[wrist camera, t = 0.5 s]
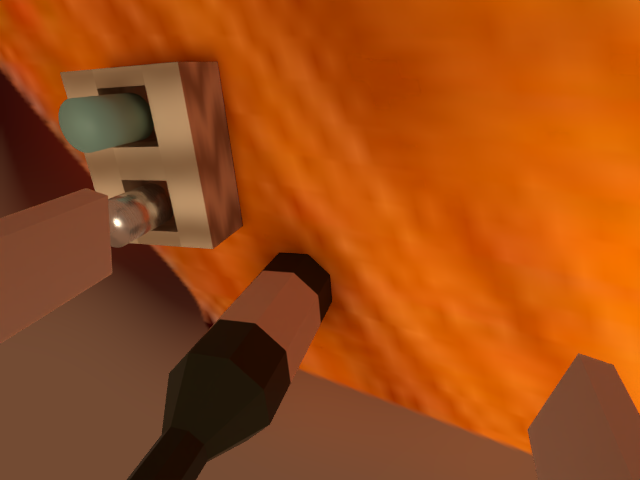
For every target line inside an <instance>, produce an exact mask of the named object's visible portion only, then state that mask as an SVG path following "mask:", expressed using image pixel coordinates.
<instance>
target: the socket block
mask: <svg viewBox="0 0 640 480" xmlns="http://www.w3.org/2000/svg"><path fill="white" fill-rule="evenodd" d="M60 74H61V77H62V80H63V84H64V87H65V91H66V94H67V97H68V99H70V98H78V97H88V96H99V95H109V94H120V93H135V94H137V95H139V96H141V97H142V98H143V99H144V100H145V101H146V102H147V103H148V100H149V103H148V104H149V105H150V109H151V114H152V118H153V123H154V127H155V130H154V128H153V131H152V133H151V135H150V136H149V137H148V138H146V139H143V140H139V141H135V142H131V143H127V144H123V145H119V146H115V147H111V148H107V149H104V150H100V151H96V152H92V153H85V152H84V154H85V158H86V161H87V164H88V168H89V171H90V174H91V178H92V181H93V184H94V188H95V191H96V192H99V193H102V194H105V195H108V199H110V198H112V197H115V196H117V195H120V194H122V193H125V192H127V191H130V190H132V189H135V188H137V187H140V186H142V185H145V184H148V183H153V184H157V185H159V186H161V187H162V188H163V189H165V190H166V192H167V193H168V194H170V199H171V203H172V208H173V215H172V217H171V219H170V220H169V221H167V222H165V223H164V224H162V225H160V226H158V227H157V228H155V229H153V230H151V231H149V232H148V233H146V234H144V235H142V236H140V237H139V238H137V239H135V240H133V241H132V242H130V243H138V244H151V245H166V246H180V247H194V248H208V249H214V248H215V247H216V246H217V245H219V244H220V243H221V242H222V241H224V240H225V239H226V238H228V237H229V236H230V235H231V234H233V233H234V232H235V231H237V230H238V229H239V228H240V227H242V226H243V225H242V218H241V212H240V205H239V199H238V192H237V186H236V179H235V173H234V166H233V160H232V153H231V147H230V140H229V134H228V127H227V121H226V114H225V108H224V101H223V95H222V88H221V82H220V75H219V69H218V62H170V63H159V64H148V65H137V66H126V67H115V68H104V69H93V70H82V71H71V72H60ZM145 87H146V90H145ZM146 91H147V94H146ZM147 96H148V99H147ZM155 132H156V134H155ZM156 136H157V137H156ZM166 181H167V183H166ZM167 185H168V188H167ZM168 190H169V192H168Z"/></svg>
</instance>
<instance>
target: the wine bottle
mask: <svg viewBox="0 0 640 480" xmlns="http://www.w3.org/2000/svg"><path fill="white" fill-rule="evenodd" d="M331 302H332V295H331V282H330V275H329V274H328V273H327V272H326V271H325V270H324V269H323V268H322V267H321V266H320V265H319V264H318V263H317V262H315V261H314V260H313V259H312V258H311V257H310V256H309V255H308V254H294V253H279V254H278V255H277V256H276V257H275V258H274V259H273V260H272V261H271V262H270V263H269V264H268V265H267V266H266V267H265V269H264V270H263V271H262V272H261V273H260V274H259V275H258V276H257V277H256V278H255V279H254V281H253V282H252V283H251V284H250V285H249V286H248V287H247V288H246V289H245V290H244V292H243V293H242V294H241V295H240V296H239V297H238V298H237V299H236V300H235V301H234V303H233V304H232V305H231V306H230V307H229V308H228V309H227V310H226V311H225V312H224V314H223V315H222V316H221V317H220V318H219V319H218V320H217V321H216V322H215V323H214V325H213V326H212V327H211V328H210V329H209V330H208V331H207V332H206V333H205V335H204V336H203V337H202V338H201V339H200V340H199V341H198V342H197V343H196V344H195V346H194V347H193V348H192V349H191V350H190V351H189V352H188V353H187V354H186V356H185V357H184V358H183V359H182V360H181V361H180V362H179V363H178V364H177V365H176V366H175V368H174V369H173V370H172V371H171V372H170V373H169V379H168V388H167V396H166V404H165V412H164V420H163V428H162V435H161V436H160V438H159V439H158V440H157V442H156V443H155V444H154V445H153V447H152V448H151V449H150V451H149V452H148V453H147V454H146V456H145V457H144V458H143V459H142V461H141V462H140V463H139V465H138V466H137V467H136V469H135V470H134V471H133V472H132V474H131V475H130V476H129V478H128V479H127V480H196V479H197V477H198V475H199V474H200V472H201V470H202V469H203V467H204V465H205V464H206V462H208V461H210V460H212V459H213V458H215V457H217V456H219V455H221V454H223V453H224V452H226V451H228V450H230V449H232V448H234V447H236V446H238V445H240V444H241V443H243V442H245V441H247V440H248V439H250V438H251V437H252V436H254V435H255V434H257V433H258V432H260V431H261V430H262V429H264V428H265V427H267V426H268V425H270V423H271V421H272V419H273V417H274V415H275V413H276V411H277V409H278V407H279V405H280V403H281V401H282V399H283V397H284V395H285V393H286V391H287V389H288V387H289V385H290V383H291V381H292V379H293V377H294V375H295V373H296V371H297V369H298V367H299V366H300V364H301V362H302V360H303V358H304V356H305V354H306V352H307V350H308V348H309V346H310V344H311V342H312V340H313V338H314V336H315V334H316V332H317V330H318V328H319V326H320V324H321V322H322V320H323V318H324V316H325V314H326V312H327V310H328V308H329V306H330V304H331Z"/></svg>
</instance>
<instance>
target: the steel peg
mask: <svg viewBox="0 0 640 480" xmlns="http://www.w3.org/2000/svg"><path fill="white" fill-rule="evenodd" d="M108 207H109V225H110V242H111V246H112V247H122V246H124V245H126V244H128V243H130V242H132V241H133V240H135V239H137V238H139V237H140V236H142V235H144V234H146V233H148V232H149V231H151V230H153V229H155V228H157V227H158V226H160V225H162V224H164V223H165V222H167V221H169V220H170V219H171V217H172V215H173V208H172V203H171V199H170V196H169V194H168V193H167V192H166V190H165V189H163V188H162V187H161V186H159V185H157V184H153V183H148V184H145V185H142V186H140V187H137V188H135V189H132V190H130V191H127V192H125V193H122V194H120V195H117V196H115V197H112V198H110V199H108Z"/></svg>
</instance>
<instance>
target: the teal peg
mask: <svg viewBox="0 0 640 480" xmlns="http://www.w3.org/2000/svg"><path fill="white" fill-rule="evenodd" d="M59 124H60V127H61V130H62V132H63V134H64V136H65V138H66V139H67V141H68V142H69V143H70V144H71V145H72V146H73V147H74V148H76V149H77V150H79V151H82V152H85V153H92V152H96V151H100V150H104V149H107V148H111V147H115V146H119V145H123V144H127V143H131V142H135V141H139V140H143V139H146V138H148V137H149V136H150V135H151V133H152V131H153V128H154V123H153V118H152V114H151V109H150V106H149V104H148V103H147V102H146V101H145V100H144V99H143V98H142V97H141V96H139V95H137V94H135V93H120V94H109V95H99V96H88V97H78V98H70V99H67V100H65V101H64V102H63V103H62V105H61V107H60V110H59Z"/></svg>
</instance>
